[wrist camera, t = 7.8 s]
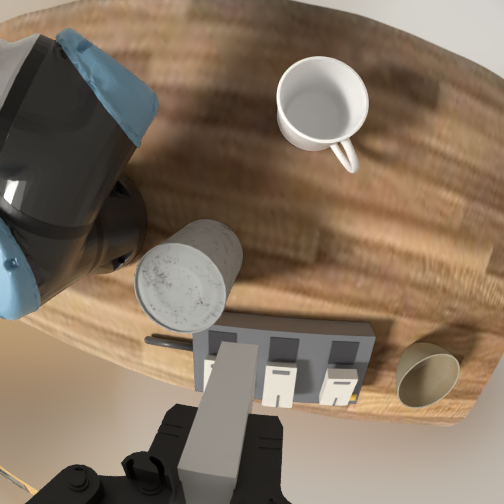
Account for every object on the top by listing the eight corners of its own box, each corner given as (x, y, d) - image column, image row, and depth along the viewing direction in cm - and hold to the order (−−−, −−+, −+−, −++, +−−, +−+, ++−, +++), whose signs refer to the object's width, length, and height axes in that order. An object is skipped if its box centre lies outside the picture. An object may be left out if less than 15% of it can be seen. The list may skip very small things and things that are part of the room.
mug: (368, 160, 36) (401, 160, 25) (306, 186, 38) (315, 196, 27) (327, 74, 34) (344, 41, 23) (265, 100, 36) (256, 75, 24)
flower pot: (373, 358, 44) (384, 387, 37) (425, 316, 41) (443, 340, 34) (404, 390, 45) (416, 418, 38) (451, 352, 42) (468, 377, 36)
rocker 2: (262, 399, 41) (261, 405, 39) (266, 361, 41) (265, 365, 39) (291, 402, 41) (291, 408, 39) (296, 363, 41) (297, 368, 39)
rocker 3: (319, 395, 42) (319, 405, 40) (327, 368, 39) (328, 379, 37) (345, 395, 41) (347, 405, 40) (356, 369, 39) (358, 379, 37)
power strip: (150, 366, 48) (141, 381, 44) (143, 301, 45) (131, 314, 41) (352, 387, 46) (356, 404, 42) (369, 322, 42) (376, 337, 38)
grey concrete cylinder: (226, 208, 40) (202, 227, 28) (253, 276, 42) (241, 320, 30) (161, 233, 42) (118, 261, 30) (190, 297, 44) (159, 342, 32)
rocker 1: (206, 392, 42) (203, 398, 40) (207, 354, 41) (204, 359, 40) (234, 395, 42) (232, 402, 40) (236, 358, 41) (234, 363, 39)
